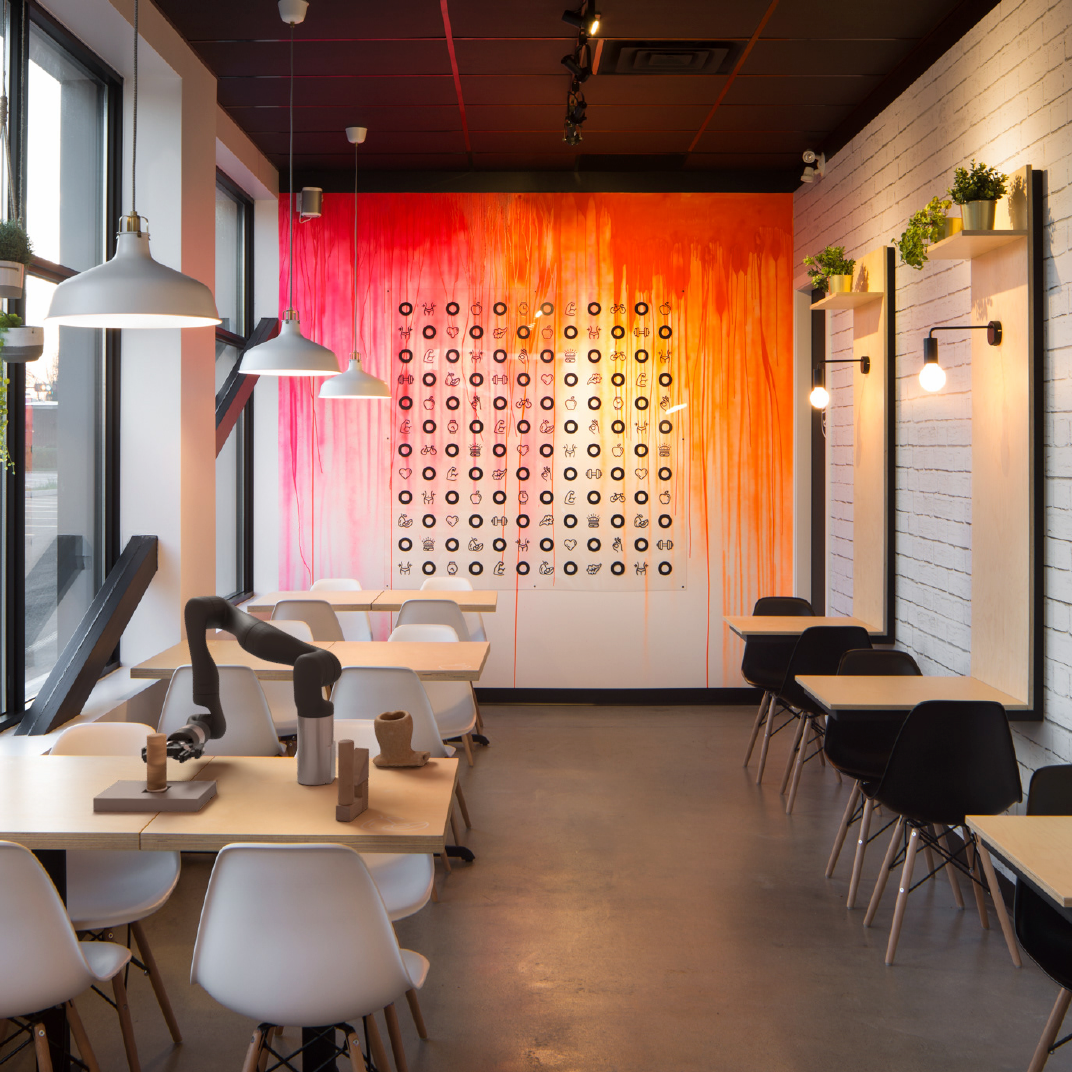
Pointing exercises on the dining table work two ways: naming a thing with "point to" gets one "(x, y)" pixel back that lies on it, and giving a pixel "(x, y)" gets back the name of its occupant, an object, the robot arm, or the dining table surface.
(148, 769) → the oak peg
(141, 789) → the grayish brown board
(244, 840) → the dining table surface
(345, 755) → the wooden block
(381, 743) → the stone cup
